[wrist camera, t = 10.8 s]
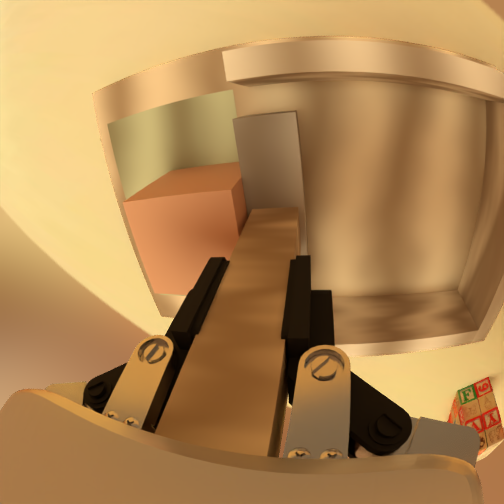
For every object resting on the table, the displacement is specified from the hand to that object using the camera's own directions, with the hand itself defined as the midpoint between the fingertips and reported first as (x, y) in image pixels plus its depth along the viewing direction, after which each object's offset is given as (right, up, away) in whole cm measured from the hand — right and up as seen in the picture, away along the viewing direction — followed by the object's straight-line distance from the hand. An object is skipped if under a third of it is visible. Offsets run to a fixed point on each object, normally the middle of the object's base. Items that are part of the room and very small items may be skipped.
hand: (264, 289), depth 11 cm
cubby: (+3, +5, +8) cm, 10 cm away
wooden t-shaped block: (+1, +4, +7) cm, 8 cm away
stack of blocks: (+39, -27, +21) cm, 52 cm away
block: (-3, +5, +8) cm, 10 cm away
